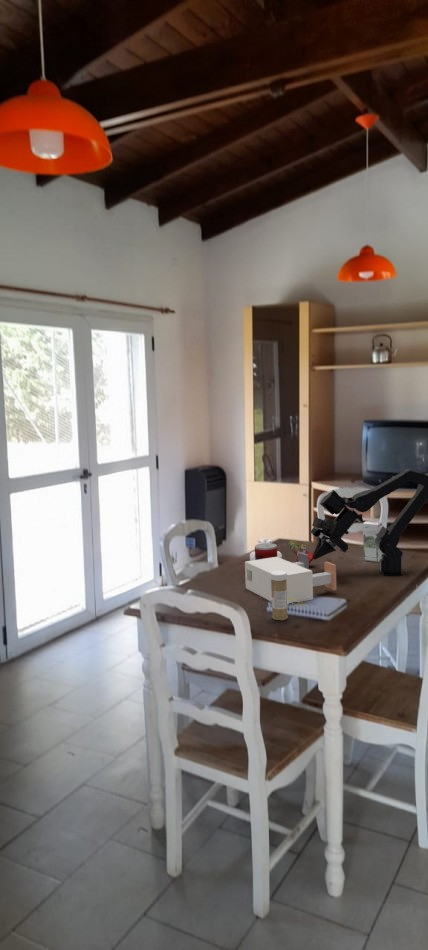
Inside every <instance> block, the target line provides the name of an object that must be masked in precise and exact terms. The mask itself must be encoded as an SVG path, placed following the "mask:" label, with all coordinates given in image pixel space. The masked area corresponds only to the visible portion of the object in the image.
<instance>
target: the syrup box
mask: <svg viewBox="0 0 428 950" xmlns="http://www.w3.org/2000/svg"><path fill="white" fill-rule="evenodd" d="M382 527H383V521H380V520H378V521H377V520H366V521H363V522H362V530H363V531H362V535H363V536H362V537H363V538H362V539H363V561H364V562H371V563H372V562H375V563H380V559H381V555H384V554H383V553H382V552H381V550H380V549H379V548H378V547H377V546H376V544H375V539H376V537H377V536H376V534H378V533H379V532H380V530H381V528H382Z"/></svg>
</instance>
